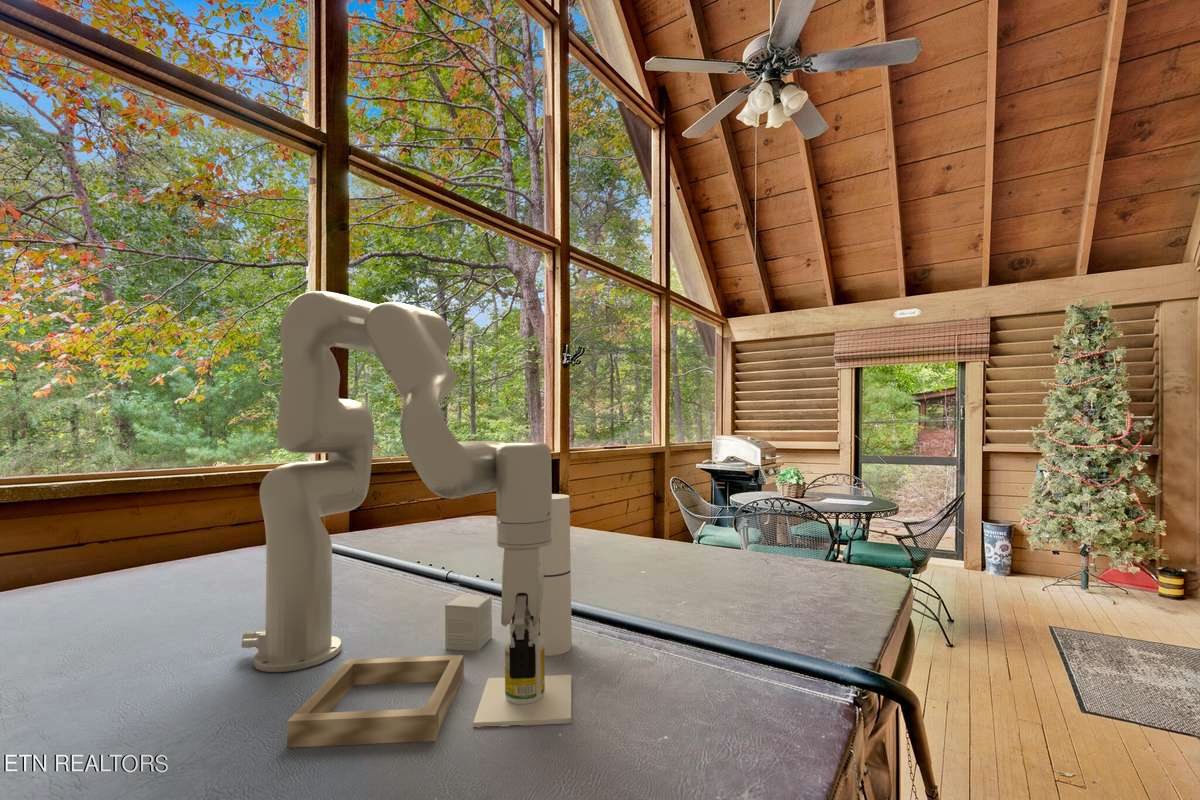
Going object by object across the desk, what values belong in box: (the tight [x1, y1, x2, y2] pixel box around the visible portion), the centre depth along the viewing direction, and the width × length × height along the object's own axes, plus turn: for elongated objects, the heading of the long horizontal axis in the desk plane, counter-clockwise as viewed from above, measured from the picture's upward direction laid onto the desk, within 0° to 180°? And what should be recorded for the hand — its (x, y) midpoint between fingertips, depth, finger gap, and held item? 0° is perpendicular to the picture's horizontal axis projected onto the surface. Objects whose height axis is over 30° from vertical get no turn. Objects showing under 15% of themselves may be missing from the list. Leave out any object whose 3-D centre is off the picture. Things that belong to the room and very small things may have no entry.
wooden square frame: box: [286, 654, 465, 749], centre depth 72 cm, size 17×17×3 cm
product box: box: [444, 594, 493, 652], centre depth 94 cm, size 6×6×7 cm
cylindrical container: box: [540, 493, 573, 657], centre depth 92 cm, size 7×7×25 cm
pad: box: [472, 674, 572, 728], centre depth 73 cm, size 12×12×1 cm
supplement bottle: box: [504, 618, 546, 705], centre depth 74 cm, size 5×5×10 cm
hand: (526, 660), depth 74 cm, fingers open, 9 cm apart
